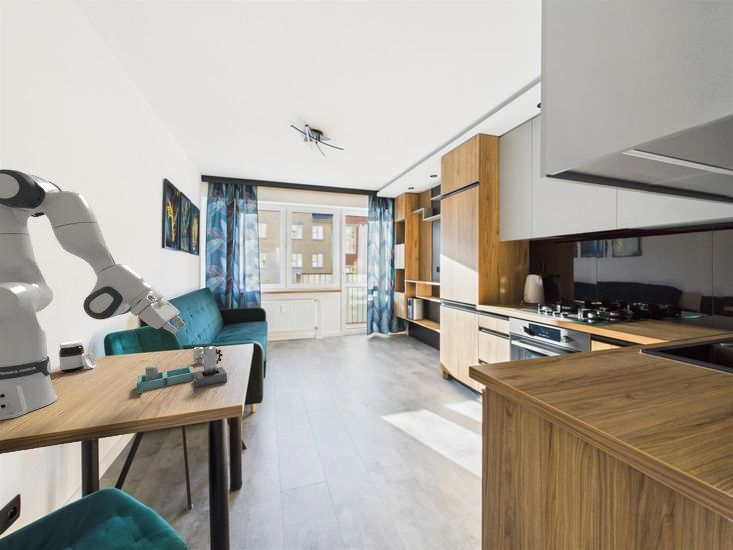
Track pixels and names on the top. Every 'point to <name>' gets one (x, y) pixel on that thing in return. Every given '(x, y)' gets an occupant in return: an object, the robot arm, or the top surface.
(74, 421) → the top surface
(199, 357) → the valve
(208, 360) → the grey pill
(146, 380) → the rack
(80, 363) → the spread jar
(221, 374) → the socket block
